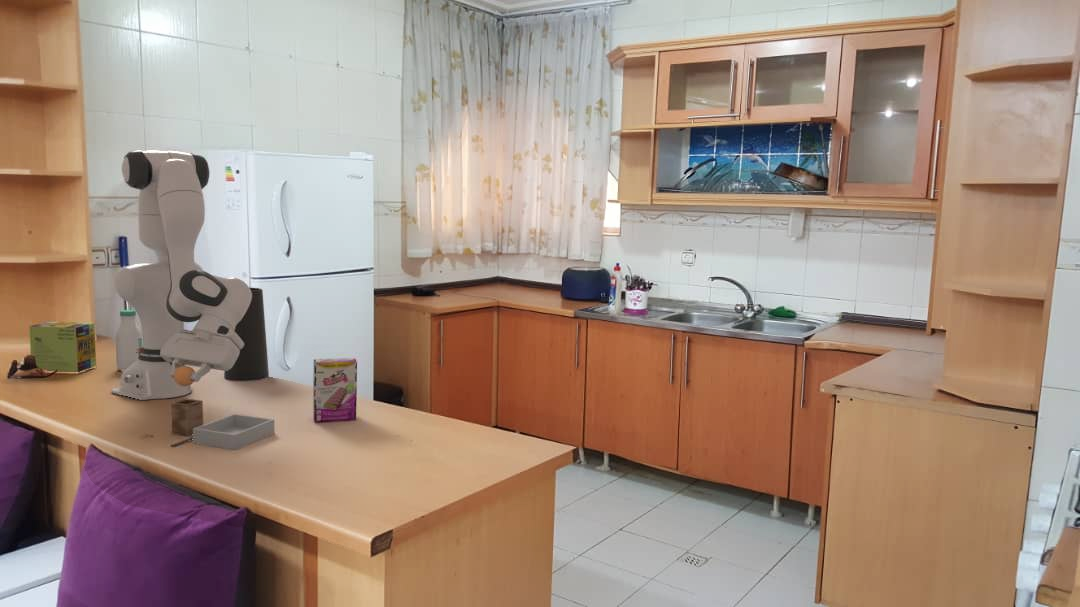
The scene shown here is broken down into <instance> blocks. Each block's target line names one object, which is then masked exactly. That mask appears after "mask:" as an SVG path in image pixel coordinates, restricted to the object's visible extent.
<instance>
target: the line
mask: <svg viewBox="0 0 1080 607" xmlns="http://www.w3.org/2000/svg"><path fill="white" fill-rule="evenodd" d="M192 439H193V436H192V437H191V436H190V437H189V438H187V439H184V440H181V441H177V442H176V443H173V444H171V445H170V447H172V446H175V447H177V445H178V446H180V445H179V444H181V445H182V443H183V444H185V443H184V442H186V443H188V442H187V441H189V440H191V441H193V440H192ZM189 442H190V441H189Z"/></svg>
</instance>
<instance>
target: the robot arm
mask: <svg viewBox="0 0 1080 607" xmlns="http://www.w3.org/2000/svg"><path fill="white" fill-rule="evenodd" d="M210 172H211V171H210V167H209V163H208V160H207V159H206V158H205V157H204V155H203V156H202V155H200V154H196V153H192V152H190V153H187V152H181V151H173V150H164V151H163V150H145V151H143V150H141V149H140V150H132V151H128V152H127V153H126V154H125V155H124V158H123V161H122V164H121V173H122V177H123V180H124V182H125V183H126V185H127V186H129V187H130V188H133V189H136V190H139V196H138V214H137V215H138V237H139V241H140V242H141V244H142V245H143V246H144V247H146V248H148V249H150V250H152V251H154V253H155V255H156V257H157V262H142V263H135V264H131V265H127V266H124V267H120V269H118V271H117V272H116V274H115V277H114V283H113V284H114V289H115V291H116V293H117V295H118V296H119V297H120V298H121V299H122V300H124V301H125V302H127V303H128V304H129V305H131V307H132V308H133V310H135V311H136V315H138V318H139V320H140V321H139V322H140V326H141V336H142V348H140V349H136V350H139V351H137V352H136V353H140V354H139V357H138V360H137V361H136V362H134V363H133V364H132V365H131V366H129V367H128V368H127V369H126V370H124V371H121V372H122V373H121V375H120V385H119V386H116V387H114V388H112V389H111V392H113V393H112V394H114V393H116V394H115V395H117V394H121V395H124V396H123V397H125V396H128V397H127V398H129V397H132V398H131V399H133V398H135V399H134V400H137V399H139V400H138V401H147V400H154V399H155V400H157V399H159V400H160V399H168V398H169V399H170V398H171V399H172V398H177V397H182V396H186V395H188V394H190V393H191V392H192V391H193V389H192V384H191V385H189V386H180V385H178V384H177V383H176V382H175V380H174V373H175V371H176V370H177V369H178V368H180V367H182V366H190V367H191V366H192V367H198V368H199V369H198V370H196V371H195V372H193V373H192V375H191V376H190V379H191V380H192V381H194V382H195V383H199V381H200V380H201V378H202V377H204V376H205V375H207V374H208V373H210V371H211V370H216V371H217V370H218V371H223V372H224V371H228V370H229V369H231V368H232V367H233V365H234V363H235V362H236V360H237V358H238V356H239V353H240V349H242V348H243V346H244V342H243V341H242V340H241V338H240V337H239V336H238V335H237V334H236V333H235V332H234V330H235V327H236V325H237V323H238V322H240V321H241V319H242V318H243V316H244V315H245V313H246V311H247V309H248V307H249V305H250V302H251V299H252V292H251V290H250V288H251V287H249V285H248V284H247V283H246V282H245V281H243V280H241V279H240V278H237V277H221V276H217V275H214V274H211V273H209V272H207V271H205V270H203V268H202V266H201V265H200V264H198V263H197V262H196V261H195V246H196V243H197V240H198V238H199V235H200V232H201V230H202V228H203V226H204V222H205V215H206V207H205V199H204V194H203V193H204V192H203V189H204V188H206V187H207V185H208V184H209V181H210V180H209V179H210V174H211V173H210ZM194 322H196V324H195V325H194V327H193V328H192V330H188V329H185V323H194ZM194 382H193V383H194ZM121 395H120V396H121Z"/></svg>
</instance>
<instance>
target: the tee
mask: <svg viewBox="0 0 1080 607" xmlns="http://www.w3.org/2000/svg"><path fill="white" fill-rule="evenodd" d="M203 407H204V406H203V400H199V399H195V398H184V399H181V400H177V401H174V402H171V403H170V410H171V412H170V413H171V435H172V434H173V435H176V434H179V435H178V436H182V435H186V436H185V437H190V436H189V435H191V436H193V435H192V434H193V428H196V427H199V426H202V425H204V416H203V415H204V413H203V412H204V410H203V409H204V408H203Z"/></svg>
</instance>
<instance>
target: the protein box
mask: <svg viewBox="0 0 1080 607" xmlns="http://www.w3.org/2000/svg"><path fill="white" fill-rule="evenodd" d="M95 332H96V331H95V323H94V322H80V321H74V322H73V321H48V322H43V323H37V324H33V325H30V326H29V344H30V345H29V347H30V356H31V355H33V356H35V360H36V365H37V366H38V367H39V368H42V369H44V370H47V371H54V370H57V371H58V372H80V371H83V370H86V369H89V368H92V367H94V366H96V367H97V354H96V353H97V351H96V350H97V349H96V334H95Z"/></svg>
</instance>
